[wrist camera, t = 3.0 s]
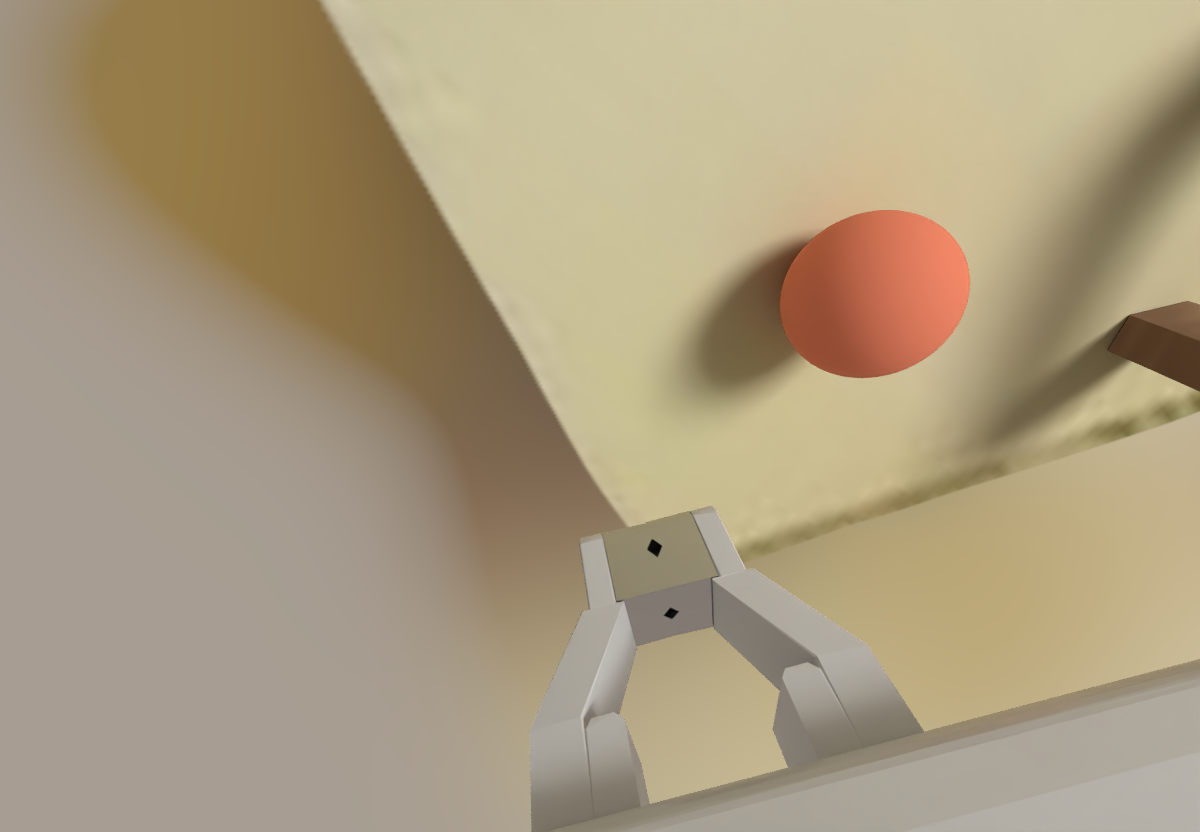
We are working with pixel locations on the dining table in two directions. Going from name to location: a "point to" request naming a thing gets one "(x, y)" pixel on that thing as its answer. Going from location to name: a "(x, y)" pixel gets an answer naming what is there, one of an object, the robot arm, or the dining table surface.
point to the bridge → (1164, 342)
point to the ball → (874, 294)
